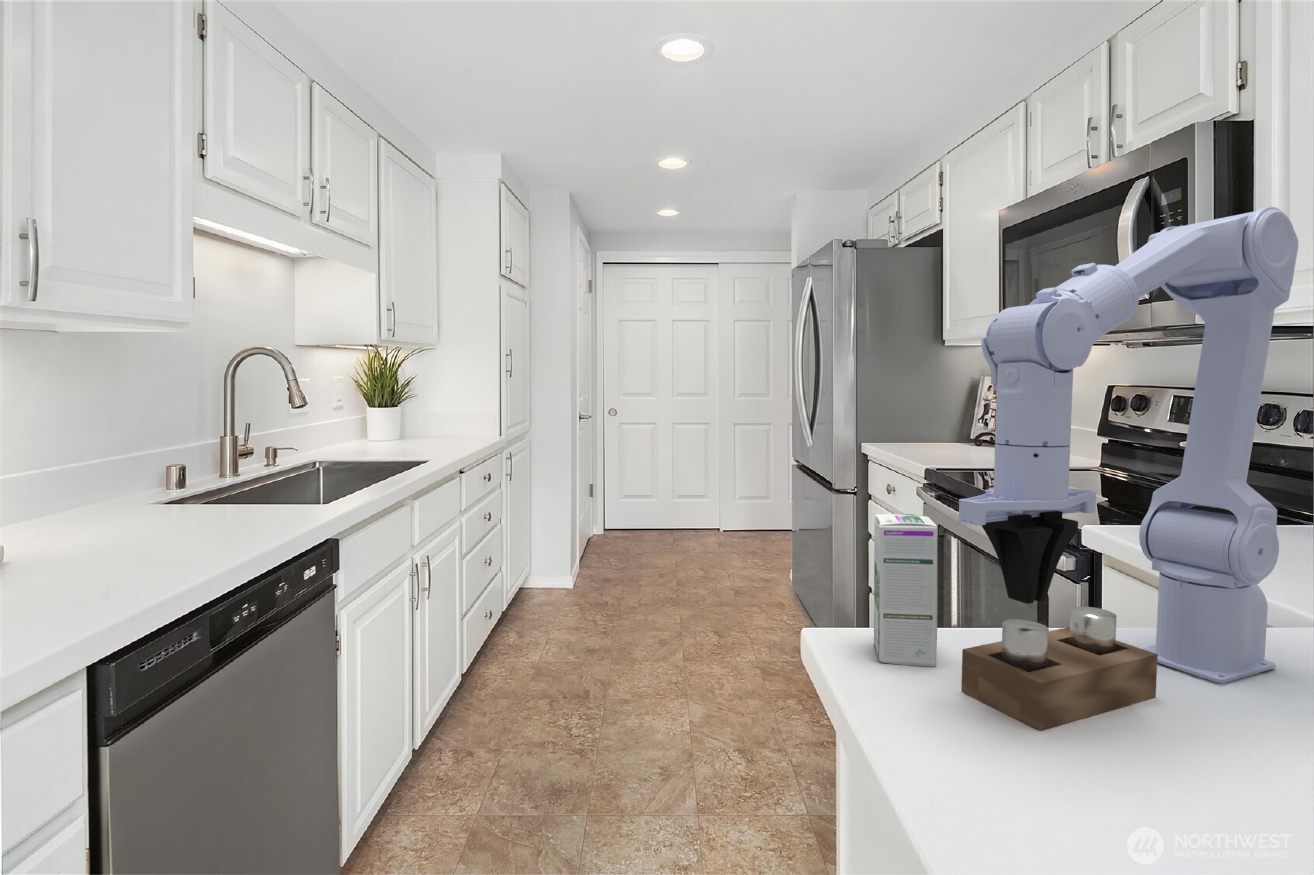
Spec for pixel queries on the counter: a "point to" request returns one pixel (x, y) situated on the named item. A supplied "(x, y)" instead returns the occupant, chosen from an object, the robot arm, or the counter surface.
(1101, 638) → the silver short cylinder
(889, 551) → the syrup box
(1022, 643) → the outer pin
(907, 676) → the counter surface
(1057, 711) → the walnut block
